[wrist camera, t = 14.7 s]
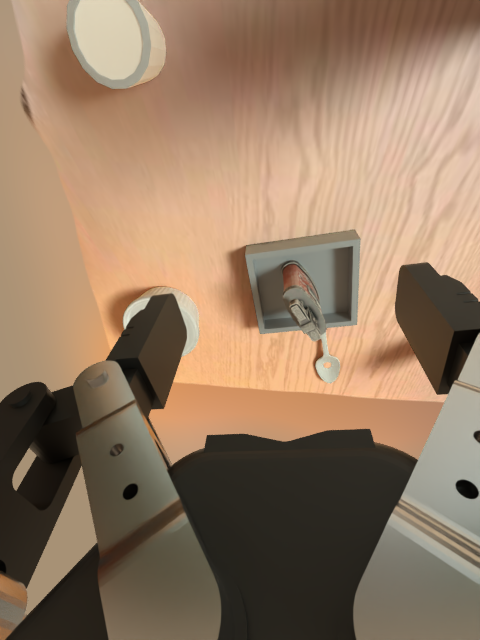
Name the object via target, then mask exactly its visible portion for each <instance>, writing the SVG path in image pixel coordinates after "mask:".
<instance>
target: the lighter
mask: <svg viewBox="0 0 480 640" xmlns="http://www.w3.org/2000/svg"><path fill="white" fill-rule="evenodd" d="M281 272H282V276H283V282H284V291H283V301H284V303H285V306H286V308H287V310H288V312H289V314H290V315H291V317H292V319H293V320H294V321H295V323H296V324H297V325H298V326H299V327H300V328H301V330H302V331H303V333H304V334H305V333H306V334H307V335H308V336H309V337H310V338H311V340H312V341H317V340H319V339H321V335H322V334H324V333H325V332H326V329H327V327H326V323H325V320H324V317H323V314H322V312H321V306H320V296H319V293H318V290H317V287H316V285H315V283H314V281H313V279H312V277H311V276H310V275H309V273H308V272H307V271H306V269H305V268H304V267H303V266H302V265H301V264H300V263H299V262H298V261H296V260H289V261H286V262H285V263H284V264H283V265H282V268H281Z"/></svg>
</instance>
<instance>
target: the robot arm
mask: <svg viewBox="0 0 480 640" xmlns="http://www.w3.org/2000/svg"><path fill="white" fill-rule="evenodd" d="M395 313H396V318H397V321H398V323H399V325H400V327H401V329H402V331H403V333H404V334H405V336H406V338H407V340H408V342H409V344H410V346H411V347H412V349H413V351H414V353H415V355H416V357H417V358H418V360H419V362H420V364H421V366H422V368H423V370H424V371H425V373H426V375H427V377H428V379H429V381H430V383H431V384H432V386H433V388H434V390H435V392H436V394H437V395H439V394H448V396H447V398H446V400H445V403H444V405H443V407H442V409H441V411H440V414H439V416H438V418H437V420H436V423H435V424H434V427H433V429H432V431H431V433H430V435H429V438H428V440H427V442H426V444H425V447H424V449H423V451H422V453H421V455H420V457H419V460H417V459H415V458H414V457H412V456H410V455H408V454H407V453H404V452H403V451H400V450H398V449H395V448H393V447H390V446H387V445H384V444H380V443H375V442H374V441H373V437H372V435H371V431H370V429H357V430H329V431H324V432H320V433H317V434H313V435H310V436H306V437H302V438H299V439H295V440H292V441H287V442H282V441H276V440H272V439H267V438H262V437H257V436H252V435H248V434H227V435H207V438H206V443H205V448H203V449H200V450H198V451H195V452H193V453H191V454H189V455H187V456H185V457H183V458H182V459H180V460H179V461H177V462H176V463H174V464H173V465H172V463H171V461H170V459H169V457H168V456H167V453H166V451H165V449H164V447H163V445H162V443H161V441H160V439H159V437H158V435H157V433H156V431H155V429H154V427H153V425H152V422H151V421H150V419H149V417H148V416H149V413H150V411H151V409H164V407H165V404H166V401H167V398H168V395H169V392H170V389H171V386H172V383H173V380H174V377H175V374H176V371H177V368H178V365H179V362H180V359H181V356H182V353H183V350H184V347H185V344H186V341H187V329H186V325H185V322H184V319H183V317H182V314H181V311H180V308H179V306H178V303H177V300H176V297H175V296H174V294H172V293H169V294H161V295H153V296H152V297H151V298H150V300H149V302H148V303H147V305H146V307H145V309H143V310H140V311H139V312H138V313H137V314H136V315H134V316H133V317H132V318H131V319H130V321H129V323H128V324H127V326H126V329H124V331H123V333H122V334H121V337H119V339H118V341H117V342H116V344H115V346H114V347H113V349H112V351H111V352H110V354H109V356H108V357H107V359H106V360H105V361H102V362H99V363H96V364H94V365H92V366H90V367H88V368H87V369H85V370H84V371H83V372H82V373H80V375H79V376H78V377H77V378H76V380H75V382H74V385H73V386H70V387H67V388H63V389H60V390H57V391H54V392H51V391H50V390H49V389H48V388H47V386H46V385H45V384H44V383H41V382H33V383H29V384H26V385H24V386H21V387H20V388H18V389H16V390H14V391H13V392H11V393H10V394H9V395H7V396H6V397H5V398H4V399H3V400H2V401H1V403H0V640H480V302H478V299H477V298H476V297H475V296H474V295H473V294H471V293H470V291H469V290H468V289H467V288H466V287H465V286H464V285H463V283H462V282H460V281H458V280H455V279H453V278H451V277H449V276H447V275H443V276H440V275H439V274H438V273H437V272H436V271H435V270H434V268H433V267H432V266H431V265H430V264H429V263H427V262H426V263H418V264H409V265H402V266H401V268H400V271H399V277H398V285H397V294H396V302H395ZM28 448H30V449H31V450H32V451H33V452H34V453H35V454H36V455H37V457H36V458H35V460H34V462H33V463H32V465H31V467H30V469H29V470H28V472H27V474H26V475H25V477H24V479H23V481H22V482H21V484H20V486H19V487H18V489H17V491H15V490H14V488H13V485H12V478H13V474H14V471H15V470H16V468H17V466H18V465H19V463H20V461H21V460H22V458H23V457H24V455H25V453H26V452H27V450H28ZM81 466H82V469H83V474H84V479H85V484H86V489H87V494H88V499H89V503H90V508H91V513H92V518H93V523H94V528H95V533H96V538H97V543H96V544H95V545H94V546H93V547H92V549H91V550H90V551H89V552H88V553H87V554H86V555H85V556H84V557H83V558H82V559H81V560H80V561H79V562H78V563H77V564H76V565H75V566H74V567H73V568H72V569H71V570H70V572H69V573H68V574H67V575H66V576H65V577H64V578H63V579H62V580H61V581H60V582H59V583H58V584H57V585H56V586H55V587H54V588H53V589H52V590H51V591H50V592H49V594H47V596H46V597H45V598H44V599H43V600H42V601H41V602H40V603H39V604H38V605H37V606H36V607H35V608H34V609H33V610H32V611H31V612H30V613H29V614H28V615H27V614H25V611H26V606H27V598H28V597H27V591H26V588H27V586H28V584H29V582H30V580H31V577H32V575H33V573H34V571H35V569H36V566H37V564H38V562H39V560H40V557H41V555H42V553H43V551H44V549H45V546H46V544H47V542H48V540H49V537H50V535H51V533H52V531H53V528H54V526H55V524H56V522H57V519H58V517H59V515H60V513H61V510H62V508H63V506H64V504H65V501H66V499H67V497H68V495H69V492H70V490H71V488H72V486H73V483H74V481H75V479H76V477H77V475H78V472H79V470H80V468H81Z"/></svg>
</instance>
